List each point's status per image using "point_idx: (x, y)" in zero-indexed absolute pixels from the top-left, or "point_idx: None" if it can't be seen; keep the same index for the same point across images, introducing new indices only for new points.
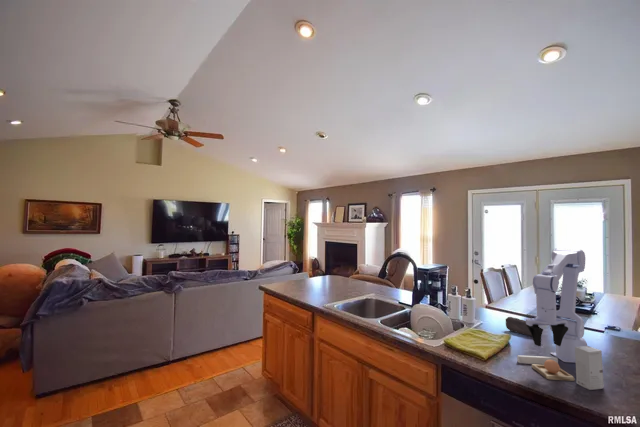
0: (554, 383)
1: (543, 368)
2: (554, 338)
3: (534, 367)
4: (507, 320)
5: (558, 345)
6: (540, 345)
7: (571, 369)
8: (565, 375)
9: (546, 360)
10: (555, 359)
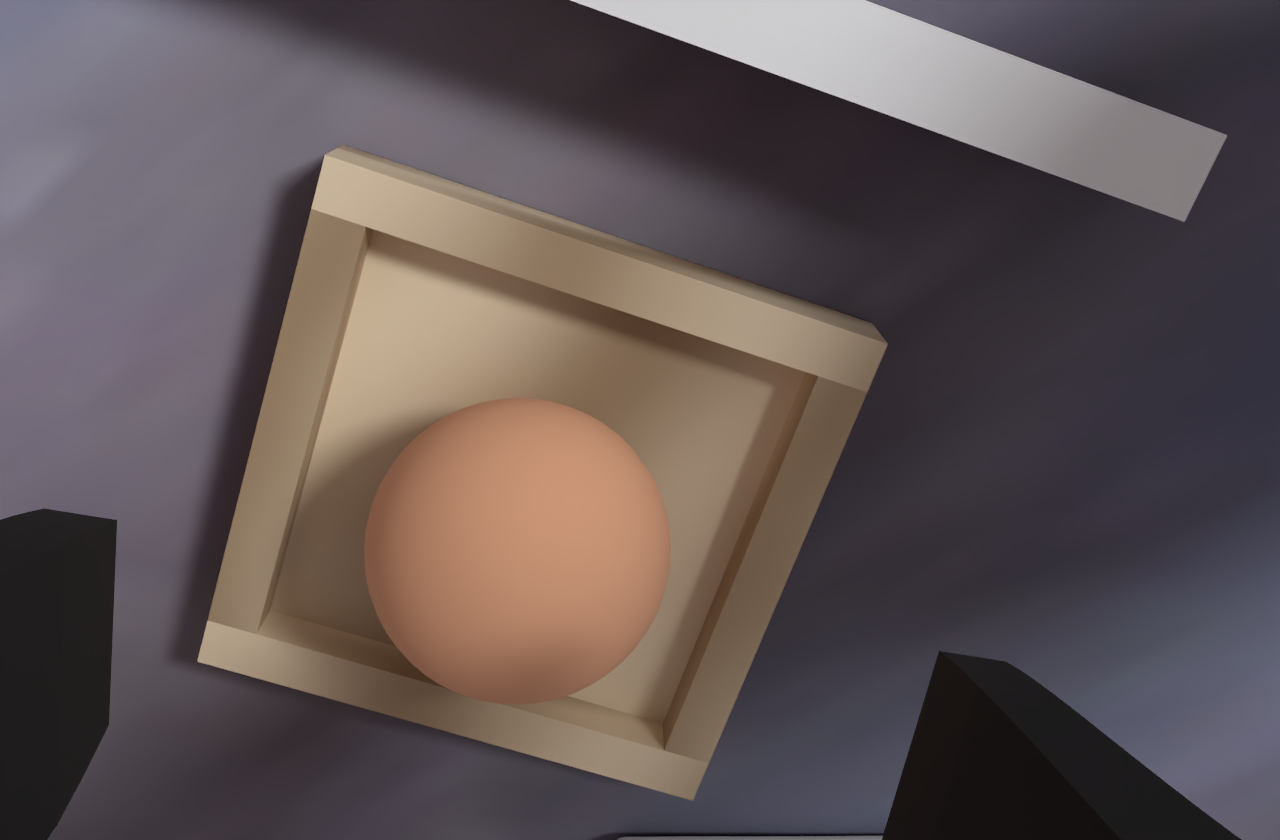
0: (220, 747)
1: (524, 301)
2: (1019, 809)
3: (308, 251)
4: None
5: (893, 830)
6: (87, 749)
7: (1176, 414)
8: (694, 626)
9: (443, 513)
10: (1115, 194)
